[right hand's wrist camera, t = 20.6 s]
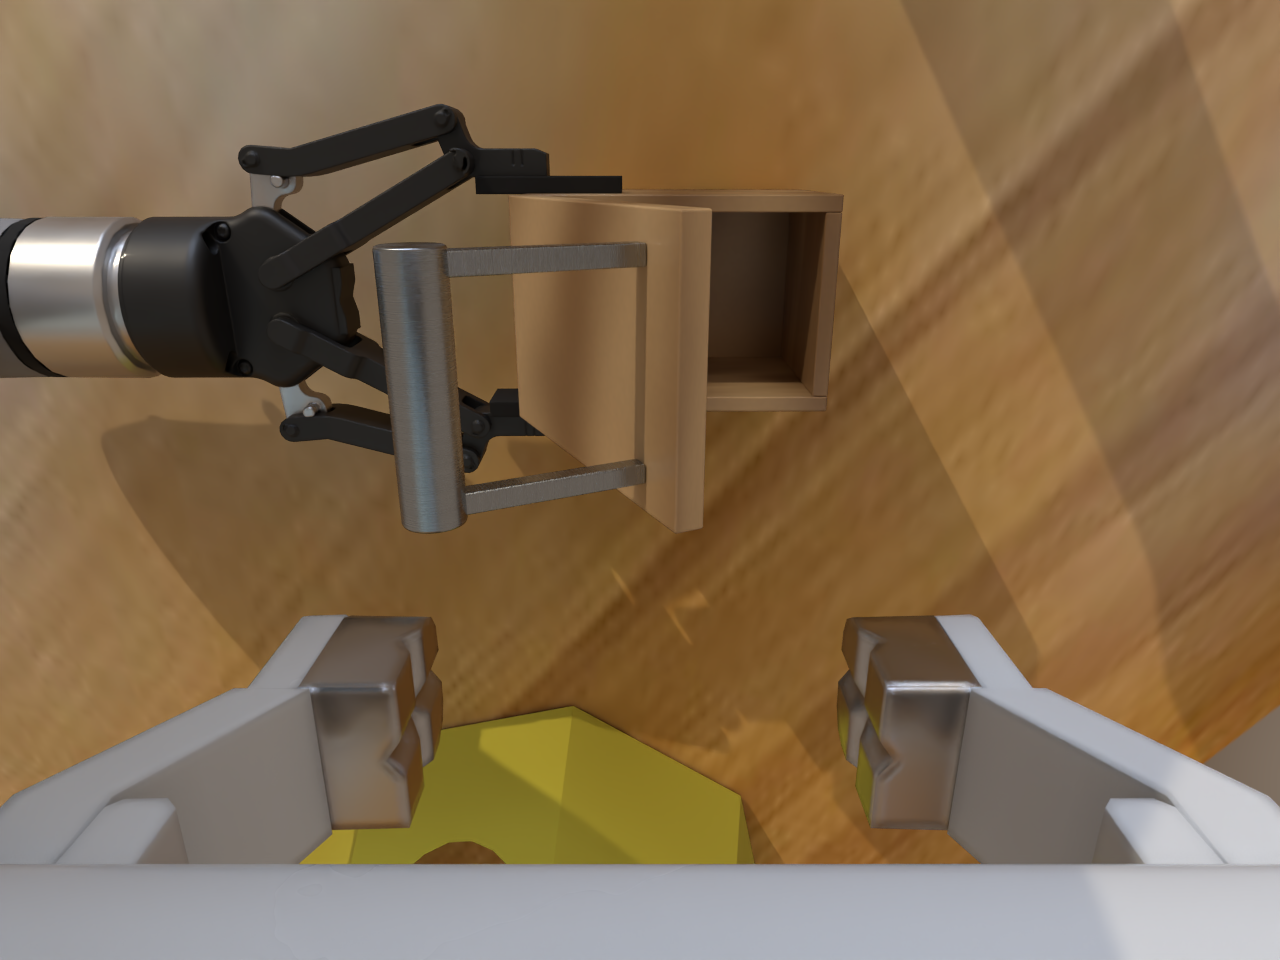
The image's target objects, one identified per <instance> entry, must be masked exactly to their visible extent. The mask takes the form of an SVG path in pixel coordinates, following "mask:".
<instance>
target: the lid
mask: <svg viewBox="0 0 1280 960" xmlns="http://www.w3.org/2000/svg"><path fill="white" fill-rule="evenodd" d="M509 216H510V235H511V246H499V247H473V248H448V249H447V247H446V245H444V244H441V243H427V242H407V243H388V244H379V245H376V246H374V247H373V259H374V268H375V277H376V287H377V296H378V305H379V315H380V324H381V334H382V343H383V352H384V362H385V371H386V380H387V390H388V399H389V409H390V418H391V427H392V437H393V446H394V455H395V465H396V474H397V484H398V493H399V502H400V512H401V521H402V525H403V526H404V528H405V529H407V530H409V531H412V532H416V533H441V532H446V531H450V530H453V529H456V528H458V527H460V526H462V525H463V524H464V523H465V522H466V520H467V518H468V515H469V514H474V513H480V512H486V511H491V510H497V509H503V508H509V507H514V506H520V505H526V504H531V503H537V502H543V501H548V500H554V499H560V498H565V497H571V496H577V495H583V494H588V493H594V492H600V491H605V490H611V489H617V490H618V491H620V492H621V493H622V494H624V495H625V496H626V497H628V498H629V499H630V500H631V501H633V502H634V503H635V504H637V505H638V506H639V507H641V508H642V509H643V510H645V511H646V512H647V513H649V514H650V515H651V516H653V517H654V518H655V519H657V520H658V521H659V522H661V523H662V524H663V525H665V526H666V527H667V528H669V529H670V530H671V531H673V532H674V533H682V532H687V531H691V530H696V529H701V528H702V527H703V505H704V471H705V437H706V403H707V368H708V334H709V300H710V266H711V231H712V209H710V208H701V207H688V206H674V205H661V204H647V203H634V202H620V201H607V200H593V199H579V198H566V197H552V196H539V195H510V196H509ZM503 274H513V294H514V314H515V333H516V353H517V372H518V392H519V412H520V417H521V418H523V419H524V420H525V421H527V422H528V423H529V424H531V425H532V426H533V427H535V428H536V429H537V430H539V431H540V432H541V433H543V434H544V435H545V436H547V437H548V438H549V439H551V440H552V441H553V442H555V443H556V444H557V445H559V446H560V447H561V448H563V449H564V450H565V451H566V452H568V453H569V454H570V455H572V456H573V457H574V458H576V459H577V460H578V461H580V462H581V463H582V464H584V465H585V466H586V467H582V468H576V469H569V470H563V471H557V472H551V473H545V474H538V475H532V476H526V477H520V478H514V479H507V480H501V481H495V482H489V483H482V484H476V485H470V486H465V475H464V462H463V449H462V436H461V423H460V410H459V397H458V384H457V371H456V358H455V345H454V332H453V319H452V306H451V293H450V279H449V277H466V276H485V275H503Z"/></svg>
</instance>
